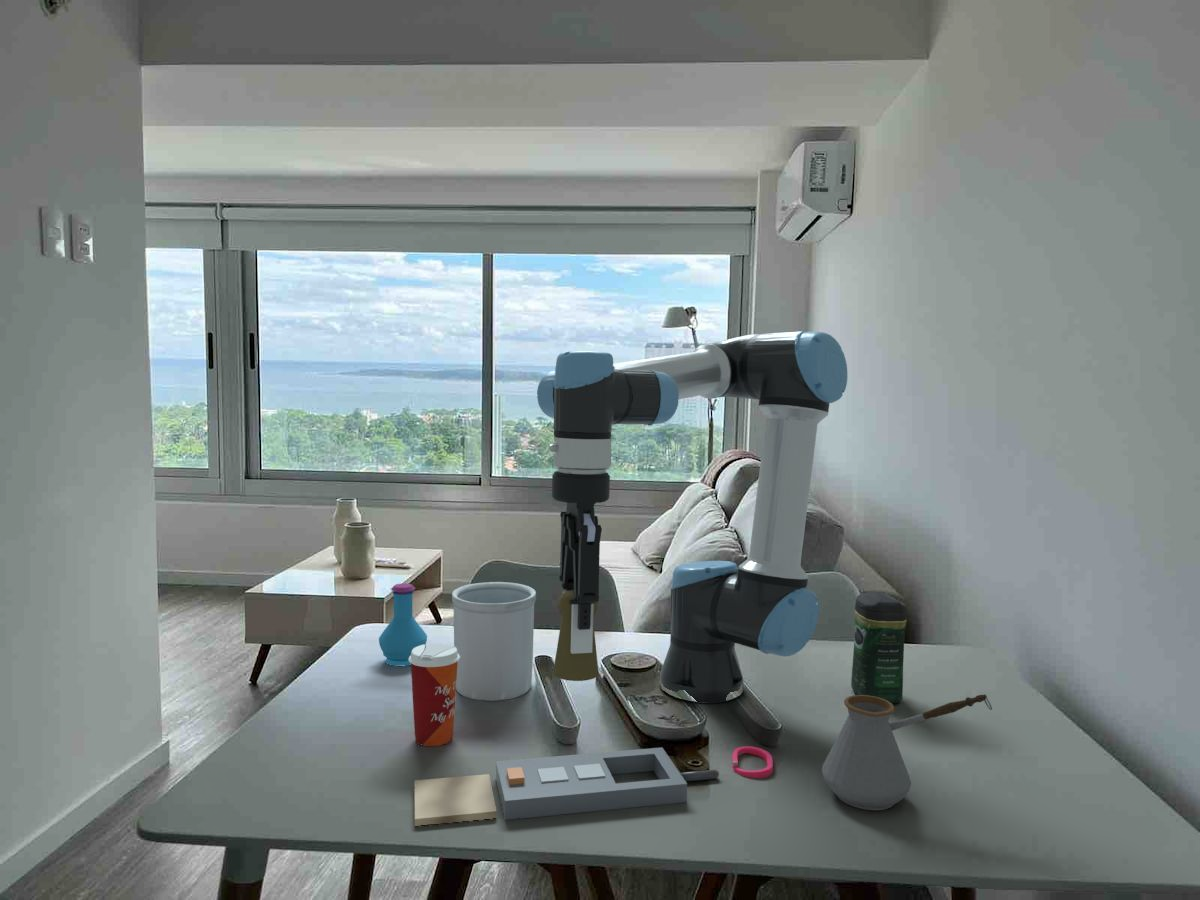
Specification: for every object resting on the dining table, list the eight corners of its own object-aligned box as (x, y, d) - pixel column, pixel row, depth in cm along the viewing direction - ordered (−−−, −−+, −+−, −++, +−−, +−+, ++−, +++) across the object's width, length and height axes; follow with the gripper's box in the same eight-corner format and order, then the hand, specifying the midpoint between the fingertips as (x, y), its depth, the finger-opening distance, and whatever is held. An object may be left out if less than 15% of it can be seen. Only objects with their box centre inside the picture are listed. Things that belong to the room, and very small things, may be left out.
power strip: (704, 760, 120) (705, 738, 120) (733, 797, 109) (734, 773, 109) (495, 778, 113) (496, 755, 113) (504, 820, 102) (505, 794, 102)
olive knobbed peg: (573, 662, 113) (575, 583, 112) (607, 672, 109) (610, 591, 108) (543, 673, 108) (545, 591, 107) (578, 684, 104) (581, 599, 103)
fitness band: (732, 752, 124) (732, 743, 123) (771, 756, 123) (772, 746, 122) (731, 778, 116) (732, 767, 115) (773, 782, 115) (774, 771, 114)
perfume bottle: (436, 658, 162) (437, 584, 161) (402, 672, 154) (402, 594, 153) (403, 650, 167) (403, 577, 165) (368, 662, 159) (368, 586, 158)
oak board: (489, 781, 112) (489, 774, 112) (496, 818, 103) (496, 811, 103) (414, 787, 110) (414, 780, 110) (414, 826, 100) (414, 819, 100)
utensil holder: (523, 706, 139) (524, 605, 138) (439, 699, 141) (440, 599, 140) (542, 676, 153) (544, 584, 152) (466, 670, 156) (467, 579, 154)
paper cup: (448, 752, 121) (448, 660, 120) (399, 747, 122) (399, 655, 121) (467, 731, 129) (467, 643, 127) (421, 726, 130) (421, 639, 129)
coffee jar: (909, 706, 142) (914, 601, 141) (864, 706, 142) (869, 601, 140) (887, 686, 152) (892, 587, 150) (845, 685, 152) (849, 587, 150)
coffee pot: (828, 814, 105) (833, 701, 104) (814, 773, 117) (819, 670, 116) (1001, 827, 103) (1008, 712, 102) (970, 783, 115) (976, 679, 113)
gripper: (540, 463, 114) (536, 626, 116) (567, 477, 97) (562, 669, 98) (593, 464, 116) (588, 624, 118) (628, 478, 99) (622, 666, 100)
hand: (576, 644), depth 108 cm, fingers closed on olive knobbed peg, 5 cm apart
